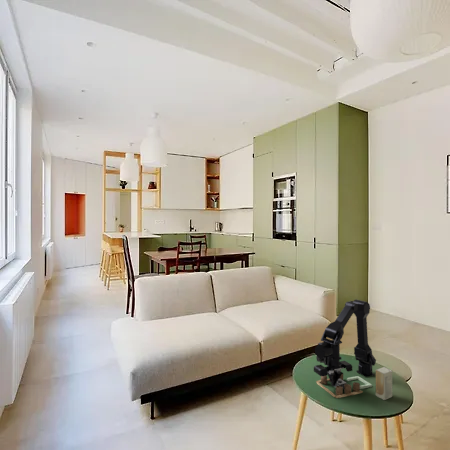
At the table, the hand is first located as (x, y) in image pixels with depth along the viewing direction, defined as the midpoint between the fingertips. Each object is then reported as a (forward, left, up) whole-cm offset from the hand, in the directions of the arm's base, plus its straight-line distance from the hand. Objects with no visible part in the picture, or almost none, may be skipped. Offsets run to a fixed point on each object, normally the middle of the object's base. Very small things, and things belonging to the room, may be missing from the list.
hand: (333, 385), depth 144 cm
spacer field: (-4, 0, -1) cm, 4 cm away
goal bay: (-16, 0, -1) cm, 16 cm away
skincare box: (-18, +13, -1) cm, 22 cm away
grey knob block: (-4, 0, -1) cm, 4 cm away
